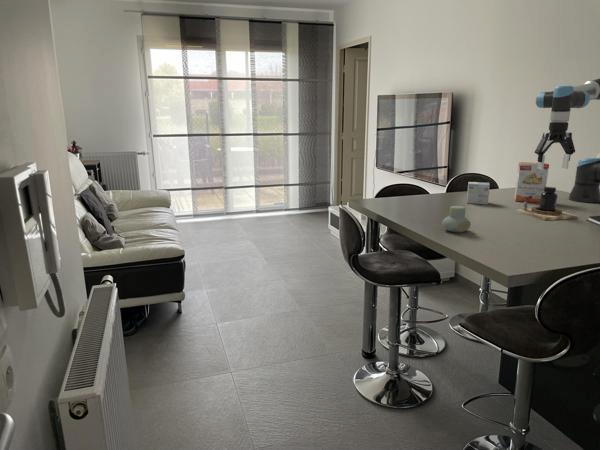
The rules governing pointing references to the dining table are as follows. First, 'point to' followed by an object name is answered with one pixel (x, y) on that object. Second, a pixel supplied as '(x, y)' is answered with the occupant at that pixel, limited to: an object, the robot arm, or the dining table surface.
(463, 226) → the air freshener
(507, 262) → the dining table surface
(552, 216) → the seat plate
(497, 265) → the dining table surface
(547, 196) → the supplement bottle
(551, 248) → the dining table surface
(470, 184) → the light bulb box
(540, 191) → the cracker box
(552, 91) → the robot arm
